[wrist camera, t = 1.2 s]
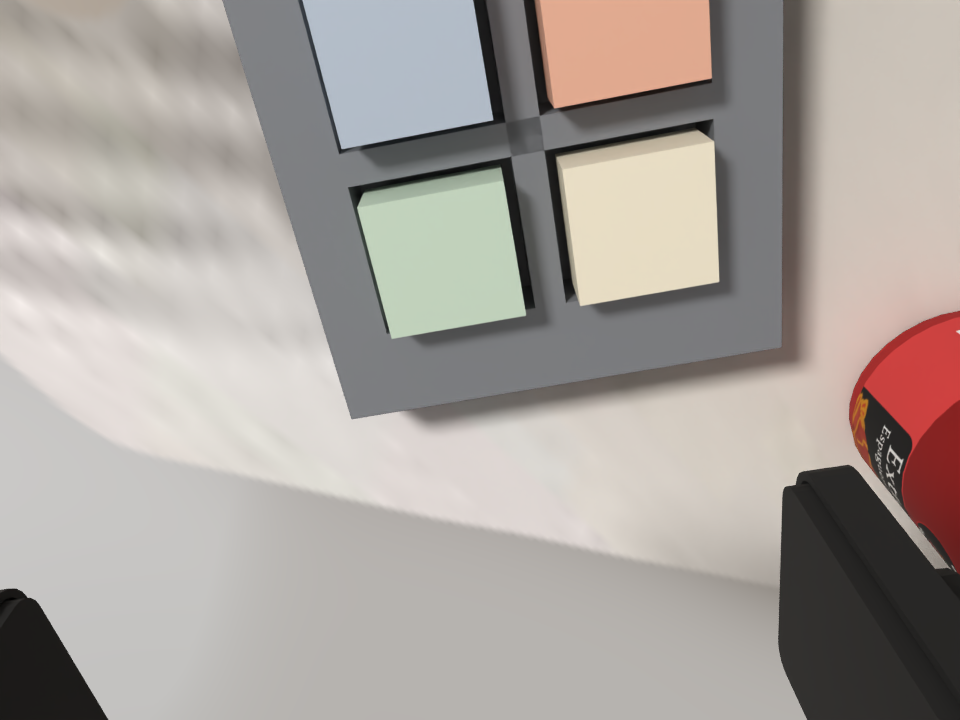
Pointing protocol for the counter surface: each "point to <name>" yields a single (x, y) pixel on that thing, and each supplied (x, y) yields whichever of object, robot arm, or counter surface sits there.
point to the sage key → (443, 251)
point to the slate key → (399, 66)
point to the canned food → (916, 427)
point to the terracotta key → (621, 46)
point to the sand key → (640, 215)
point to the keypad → (527, 208)
